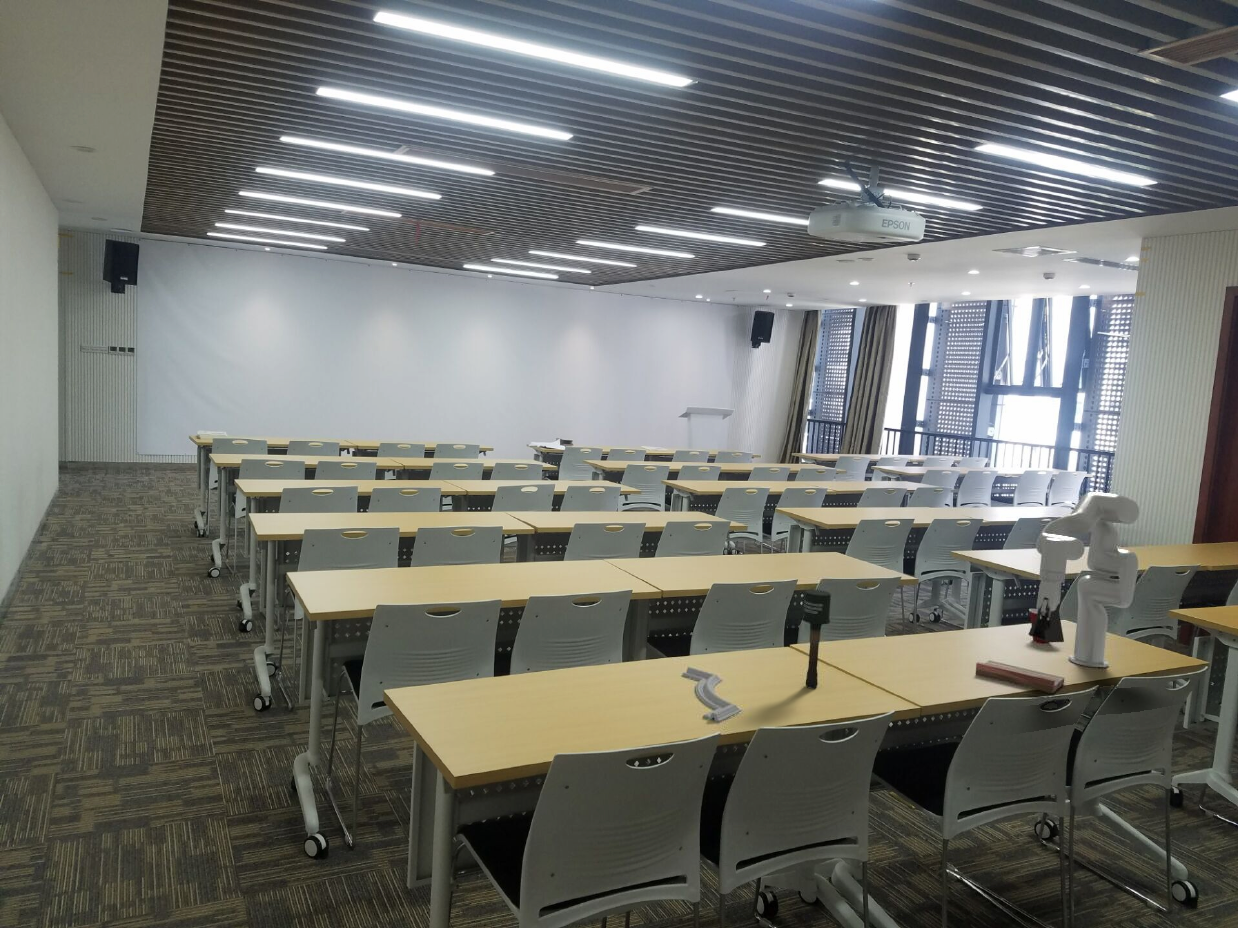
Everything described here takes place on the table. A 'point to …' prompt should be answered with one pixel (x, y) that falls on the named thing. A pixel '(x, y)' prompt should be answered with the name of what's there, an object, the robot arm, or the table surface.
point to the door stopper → (1055, 628)
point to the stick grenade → (815, 627)
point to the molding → (711, 695)
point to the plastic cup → (1033, 614)
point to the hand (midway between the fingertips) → (1046, 629)
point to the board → (1020, 682)
